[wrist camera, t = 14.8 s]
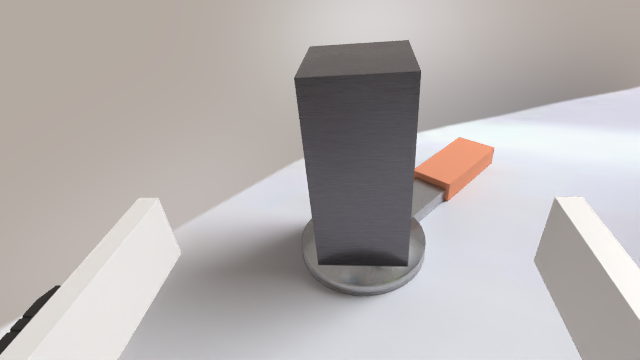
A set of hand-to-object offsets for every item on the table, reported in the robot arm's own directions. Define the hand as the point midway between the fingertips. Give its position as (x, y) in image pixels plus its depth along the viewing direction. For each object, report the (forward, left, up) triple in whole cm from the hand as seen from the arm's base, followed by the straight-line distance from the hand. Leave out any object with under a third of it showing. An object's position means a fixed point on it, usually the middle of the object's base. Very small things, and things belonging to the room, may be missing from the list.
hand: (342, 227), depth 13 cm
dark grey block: (-8, -7, -10) cm, 15 cm away
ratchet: (-15, -7, -11) cm, 20 cm away
